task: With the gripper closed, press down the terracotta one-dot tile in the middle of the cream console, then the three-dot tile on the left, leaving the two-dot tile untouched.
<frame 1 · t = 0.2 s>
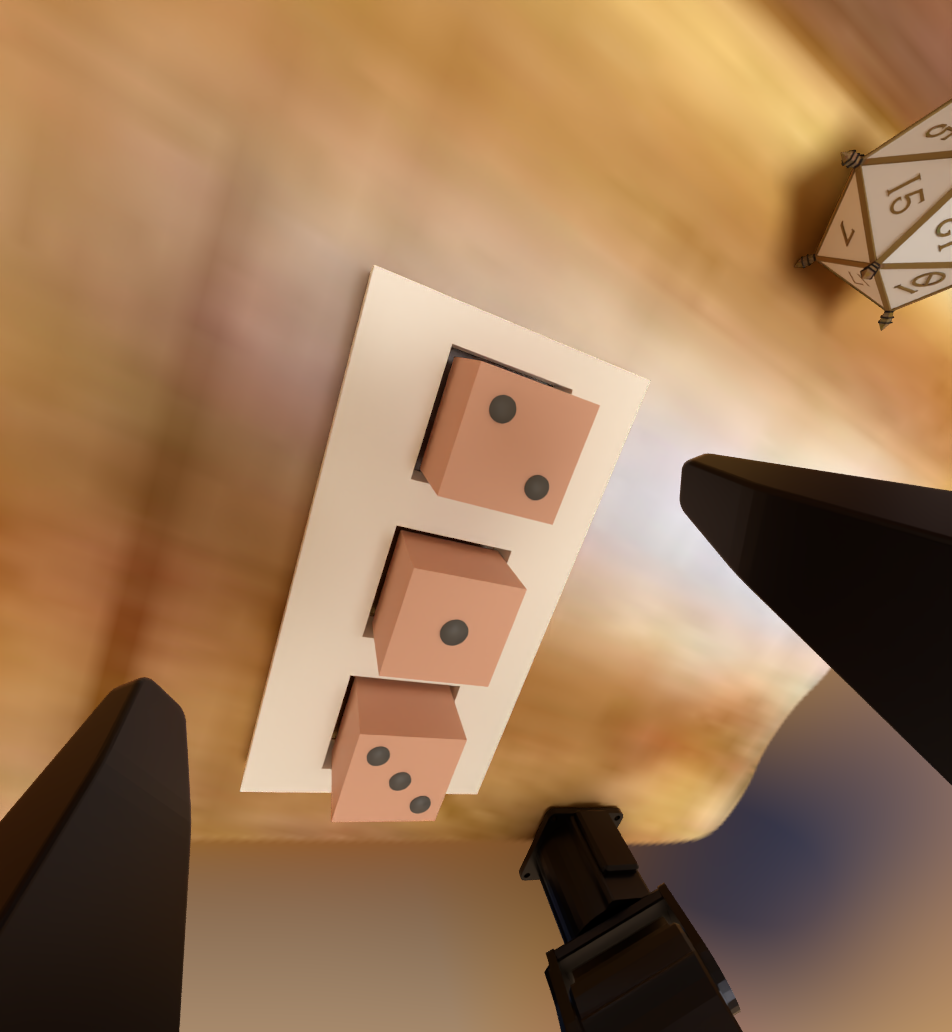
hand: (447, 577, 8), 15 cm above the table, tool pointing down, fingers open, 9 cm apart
tile two dots: (503, 439, 19), point 3 cm above the table, slide at 0.0 cm
tile three dots: (395, 747, 23), point 3 cm above the table, slide at 0.0 cm
tile one dot: (444, 607, 21), point 3 cm above the table, slide at 0.0 cm
console: (430, 574, 24), on the table
game die: (836, 229, 24), on the table
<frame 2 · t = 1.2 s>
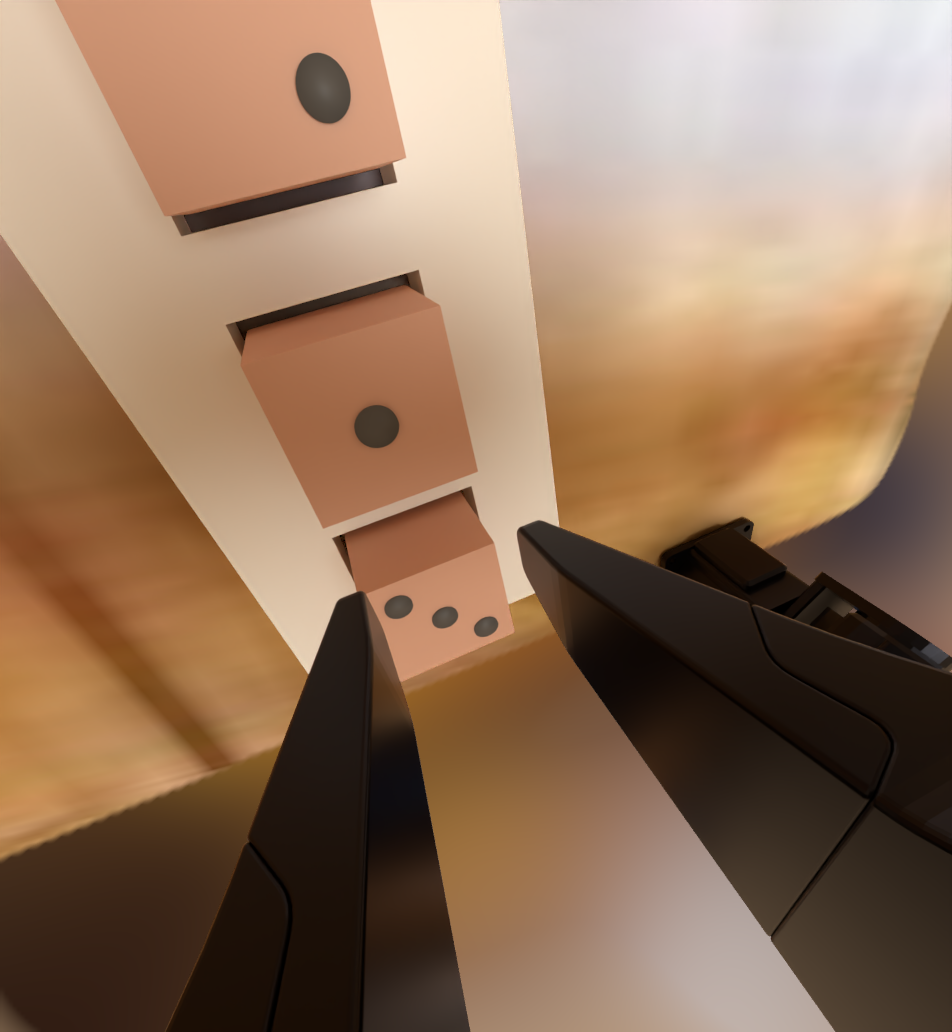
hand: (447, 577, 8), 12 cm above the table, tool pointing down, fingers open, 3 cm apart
tile two dots: (235, 43, 10), point 3 cm above the table, slide at 0.0 cm
tile three dots: (431, 584, 19), point 3 cm above the table, slide at 0.0 cm
tile one dot: (365, 403, 14), point 3 cm above the table, slide at 0.0 cm
console: (351, 372, 17), on the table
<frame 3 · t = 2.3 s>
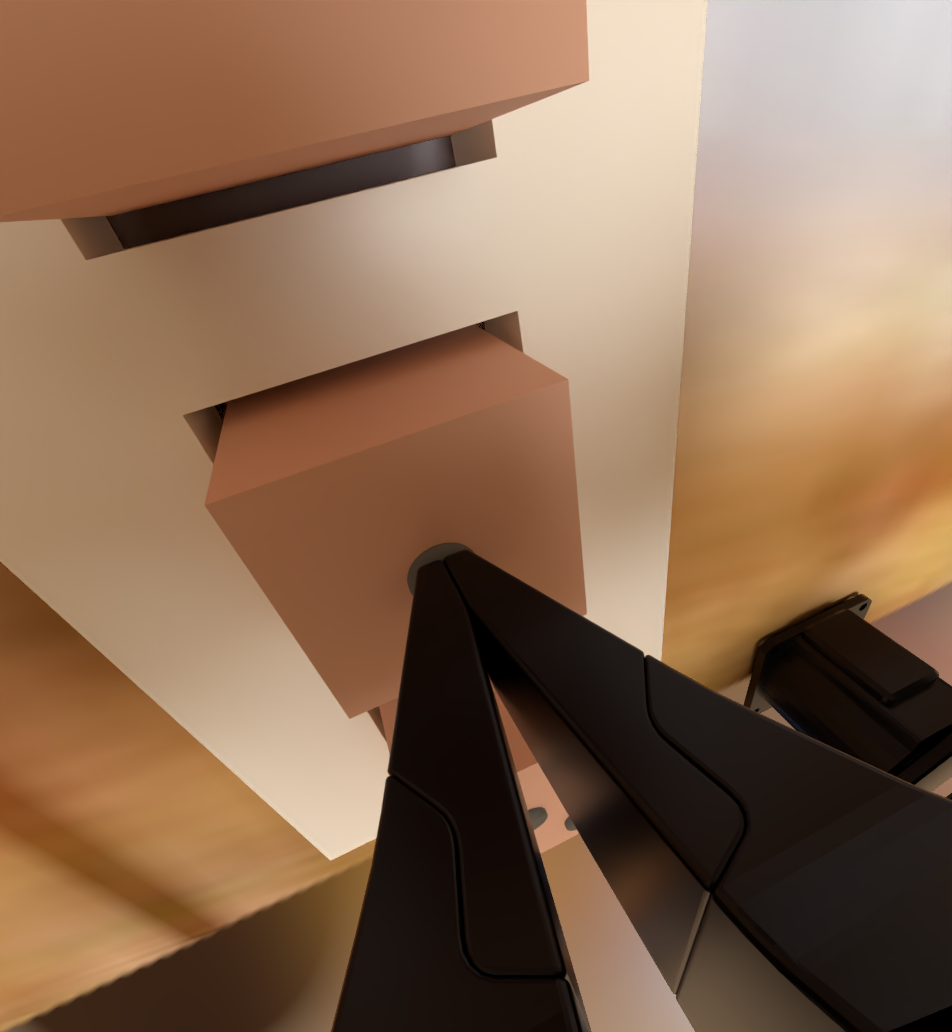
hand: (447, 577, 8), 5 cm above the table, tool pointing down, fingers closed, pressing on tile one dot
tile three dots: (498, 748, 13), point 3 cm above the table, slide at 0.0 cm
tile one dot: (414, 511, 9), point 3 cm above the table, slide at 0.8 cm, touching gripper
console: (389, 457, 11), on the table
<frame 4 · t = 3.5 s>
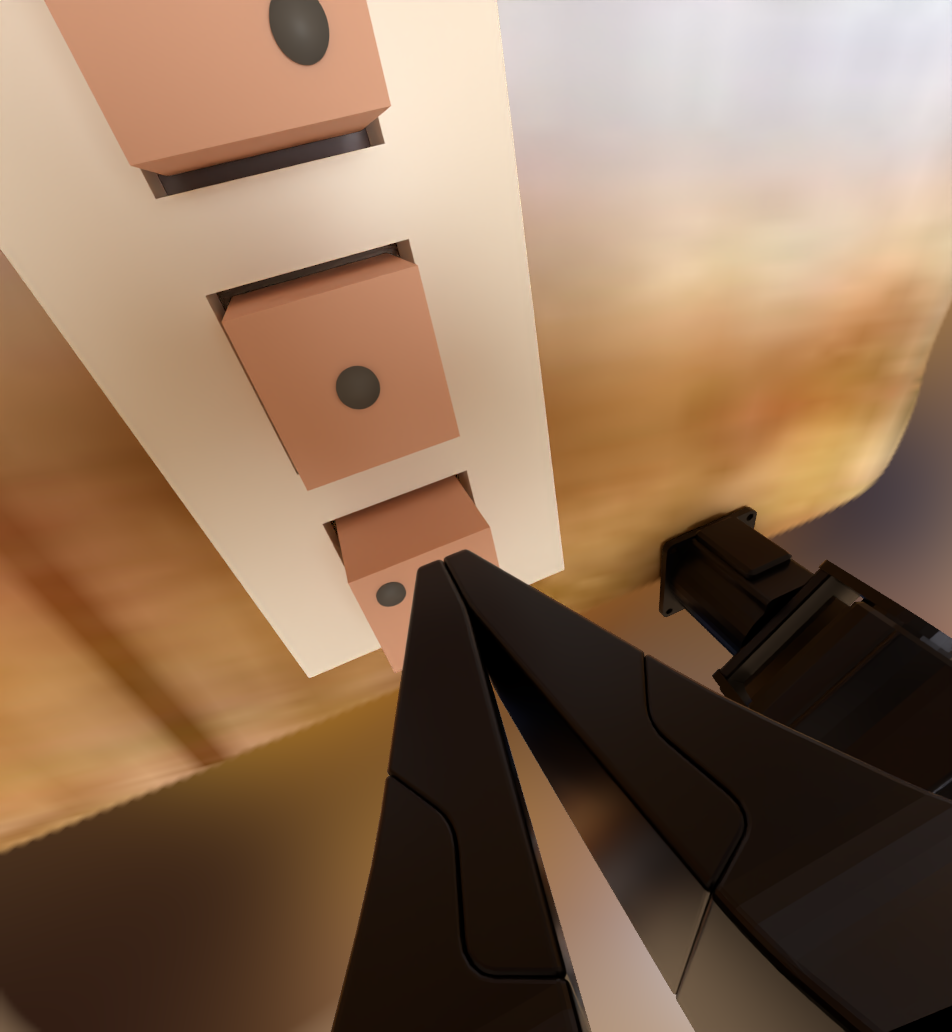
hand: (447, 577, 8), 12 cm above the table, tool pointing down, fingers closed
tile three dots: (425, 571, 19), point 3 cm above the table, slide at 0.0 cm
tile one dot: (348, 368, 15), point 2 cm above the table, slide at 1.2 cm
console: (340, 351, 16), on the table
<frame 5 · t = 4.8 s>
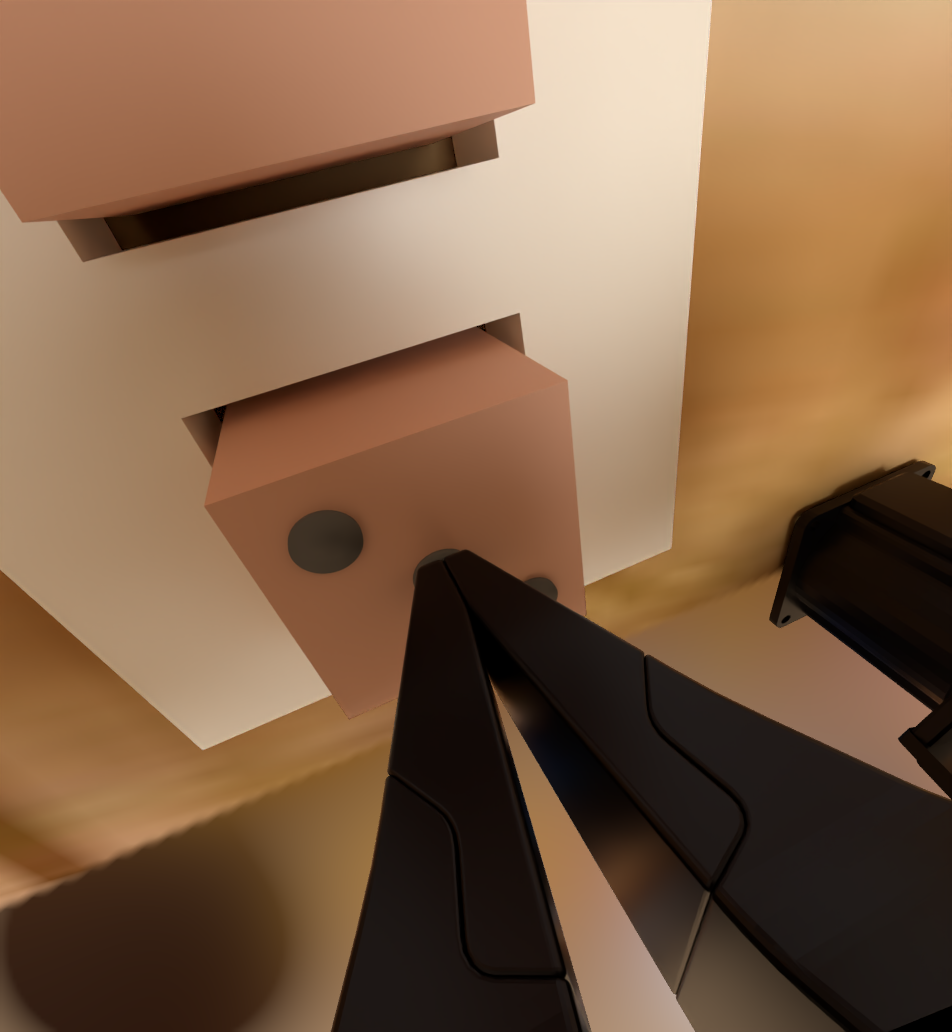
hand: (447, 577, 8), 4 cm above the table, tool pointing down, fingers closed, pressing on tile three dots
tile three dots: (414, 512, 9), point 2 cm above the table, slide at 1.0 cm, touching gripper
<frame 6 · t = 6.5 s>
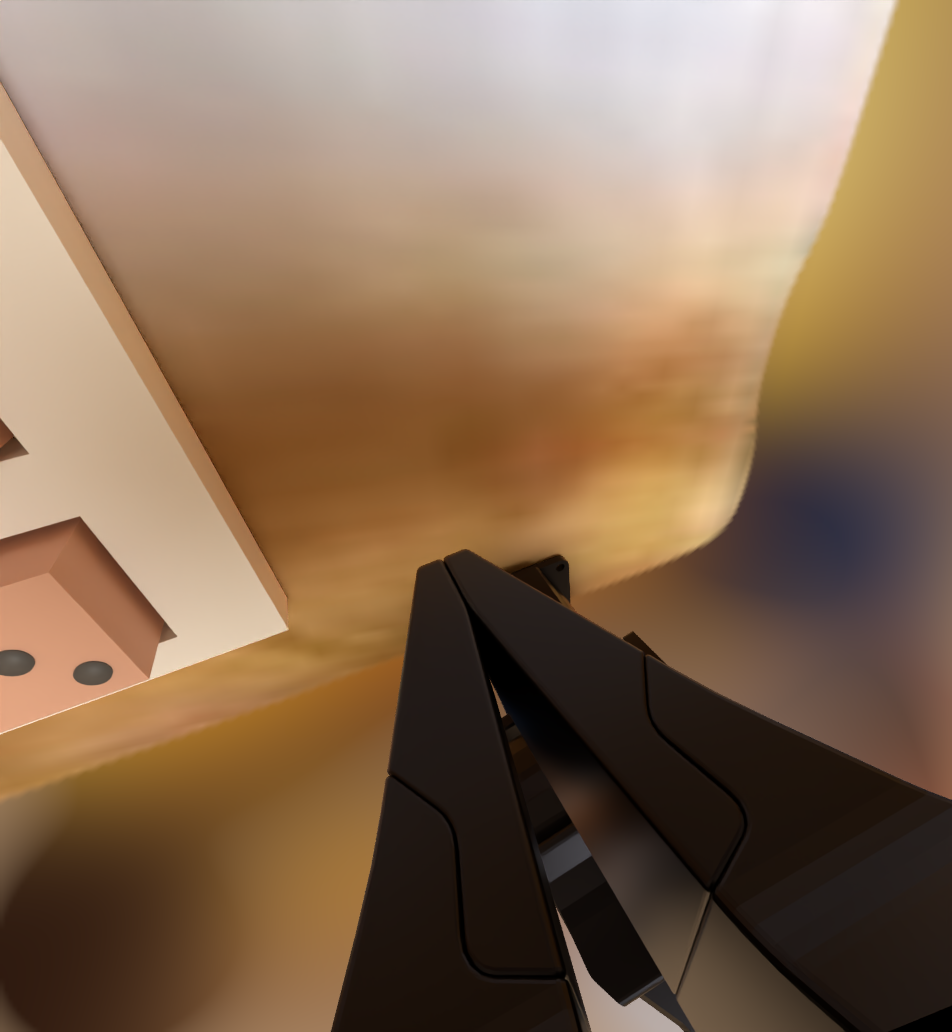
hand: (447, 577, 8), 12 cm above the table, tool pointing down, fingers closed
tile three dots: (38, 616, 16), point 2 cm above the table, slide at 1.2 cm
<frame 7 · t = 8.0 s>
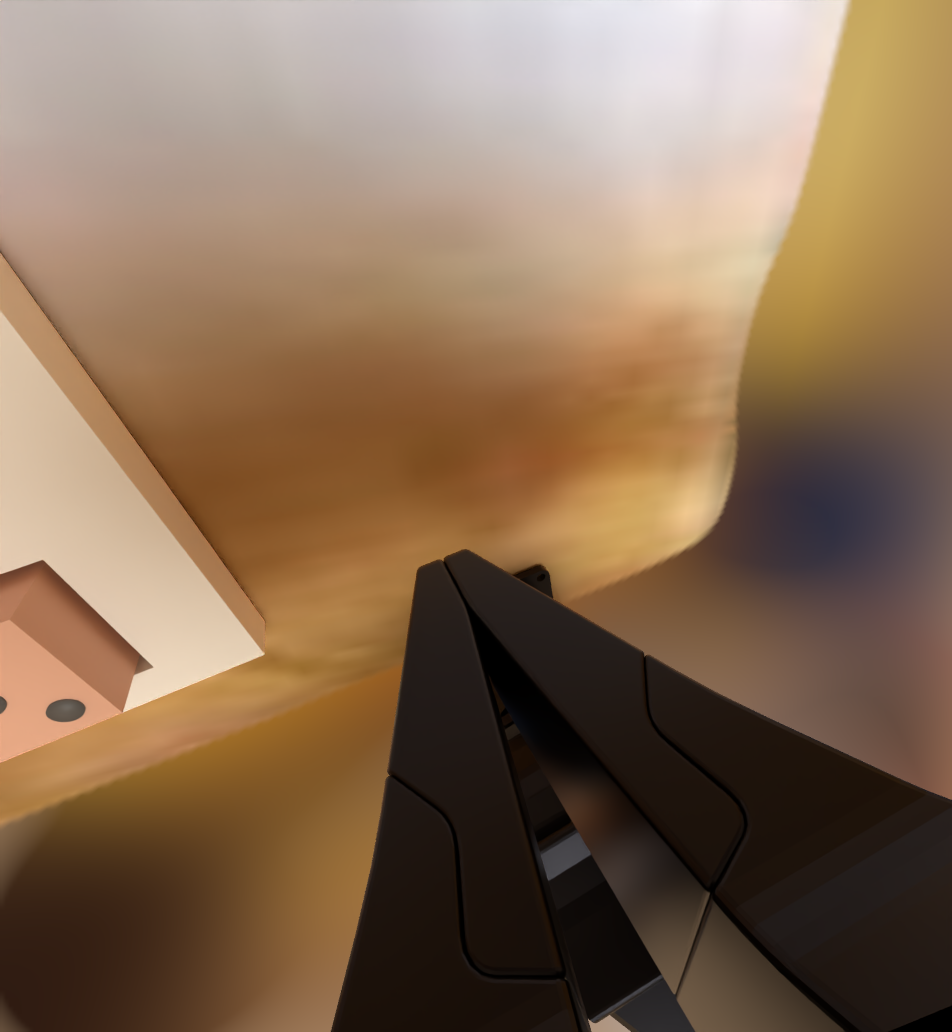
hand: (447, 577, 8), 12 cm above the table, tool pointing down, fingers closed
tile three dots: (12, 656, 16), point 2 cm above the table, slide at 1.2 cm
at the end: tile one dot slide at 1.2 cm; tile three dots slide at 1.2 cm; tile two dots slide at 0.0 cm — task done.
